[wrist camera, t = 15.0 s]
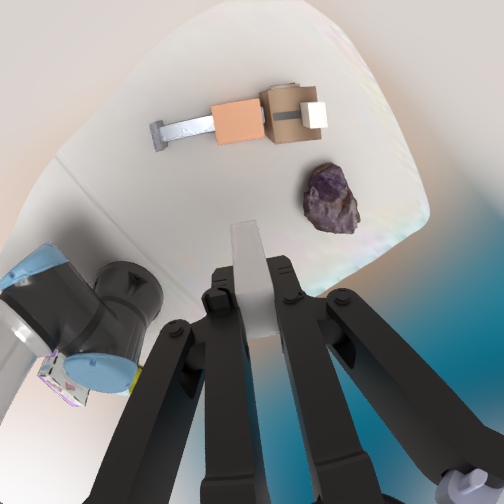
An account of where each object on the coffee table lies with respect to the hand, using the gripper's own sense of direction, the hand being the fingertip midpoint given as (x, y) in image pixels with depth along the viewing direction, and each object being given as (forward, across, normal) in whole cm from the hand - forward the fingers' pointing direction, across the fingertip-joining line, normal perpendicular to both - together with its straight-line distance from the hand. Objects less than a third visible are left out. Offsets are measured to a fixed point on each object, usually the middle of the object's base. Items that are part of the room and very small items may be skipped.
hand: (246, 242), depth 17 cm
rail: (+30, -2, +6) cm, 30 cm away
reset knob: (+19, +10, +6) cm, 23 cm away
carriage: (+30, +2, +6) cm, 30 cm away
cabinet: (+30, +9, +6) cm, 31 cm away
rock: (+30, +14, -10) cm, 34 cm away
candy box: (+31, -51, -38) cm, 70 cm away
